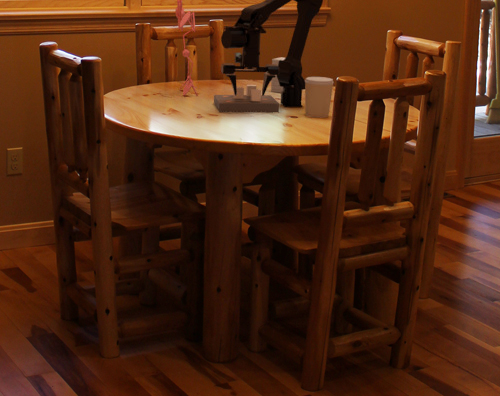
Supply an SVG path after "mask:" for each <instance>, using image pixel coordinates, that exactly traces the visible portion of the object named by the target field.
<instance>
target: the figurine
mask: <svg viewBox="0 0 500 396" xmlns="http://www.w3.org/2000/svg"><path fill="white" fill-rule="evenodd" d="M176 1H177V2H176V3H177V4H176V5H177V6H176V8H175V12H174V13H175V16H176V19H177V27H178V30H180V31H181V32H183V31H184V26H186V24H187V23H188V24H189V26H190V27H191V29H190V30H188V31H187V32H185V33H184V34H183V35H182V40H183V50H182V56H183V57H184V58H187V77H186V80H185V81H184V82H183V83H182V85H181V87H179V90H182V89H183V90H182V91H183V92H182V94H183V96H184V97H185V96H186V95H187V94H188V93H189V91H190V90H191V89H192V90H193V92H194V94H195V96H199V95H198V92H197V88H198V87H197V86H196V87H195V85H194V83H193V81H194V80H193V79H191V78H192V73H193V66H194V62H193V61H192V60H191V58H190V57H189V56H190V53H191V52H190V50H188V49H186V41H185V39H186V38H185V36H186V35H188V33H190V32H191V31H193V32H194V33H196V21H195V12H194V11H193V12H191V10H188V11H187V12H185V10H184V7H183V0H176ZM190 63H191V67H190ZM160 92H162V89H161V90H160ZM161 97H167V98H168V96H165V95H163V94H162V95H161ZM169 98H173V97H172V96H169Z"/></svg>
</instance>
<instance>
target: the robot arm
mask: <svg viewBox="0 0 500 396" xmlns="http://www.w3.org/2000/svg"><path fill="white" fill-rule="evenodd" d="M292 1H294V2H295V3H296V9H297V20H296V22H295V26H294V30H293V32H292V33H293V34H292V37H291V41H290V44H289V46H288V52H287V55H286V57H284V58H285V59H284V60H280V61H279V63H278V66H277V65H276V64H272V63H267V64H265V66H260V58H261V57H260V55H261V37H262V36H261V34H267V30H266V29H264V27H263V25H264V24H265V23H266V22H267V21H268V20H269V18H270V16H271V15H272V14H274V13H275V12H276V11H278V10H279V9H282V8H283V6H285V5H287V4H288V3H290V2H292ZM323 2H324V0H264V1H261V2H259V3H255V4H251V5H249V6H246V7H244V8H243V9H242V10H241V13H240V15H239V17H238V19H237V20H236V22H235V24H234V26H231V25H230V26H225V30H224V31H223V32H222V34H221V37H220V40H221V41H220V43H221V45H222V47H223V48H225V49H242V51H241V52H242V53H241V52H234V58H233V59H234V60H233V61H234V63H233V62H232V63H229V62H223V63H222V64H221V65H220V71H221V73H222V74H223V75H225V76H226V77H227V78H229V81H230V83H231V87H232V89H233V95H234V94H235V95H236V93H237V87H238V86H237V75H236V72H237V73H239V72H240V73H263V82H262V87H261V88H262V89H261V95H262V96H264V95H265V94H266V91H267V90H268V89H267V88H268V87H269V86H270V83H271V80H272V78H275V75H277V78H278V81H279V85H280V87H283V91H281V93H280V104H281V105H282V106H283V107H288V108H303V105H302V98H303V91H304V90H305V80H306V79H304V78H303V75H302V74H303V65H302V58H303V54H304V50H305V46H306V43H307V40H308V37H309V33H310V29H311V25H312V22H313V19H314V18H315V17H316V16H317V15H318V13H319V12H320V11H321V9H322V8H321V7H322V5H323ZM235 64H239V65H235Z"/></svg>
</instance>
